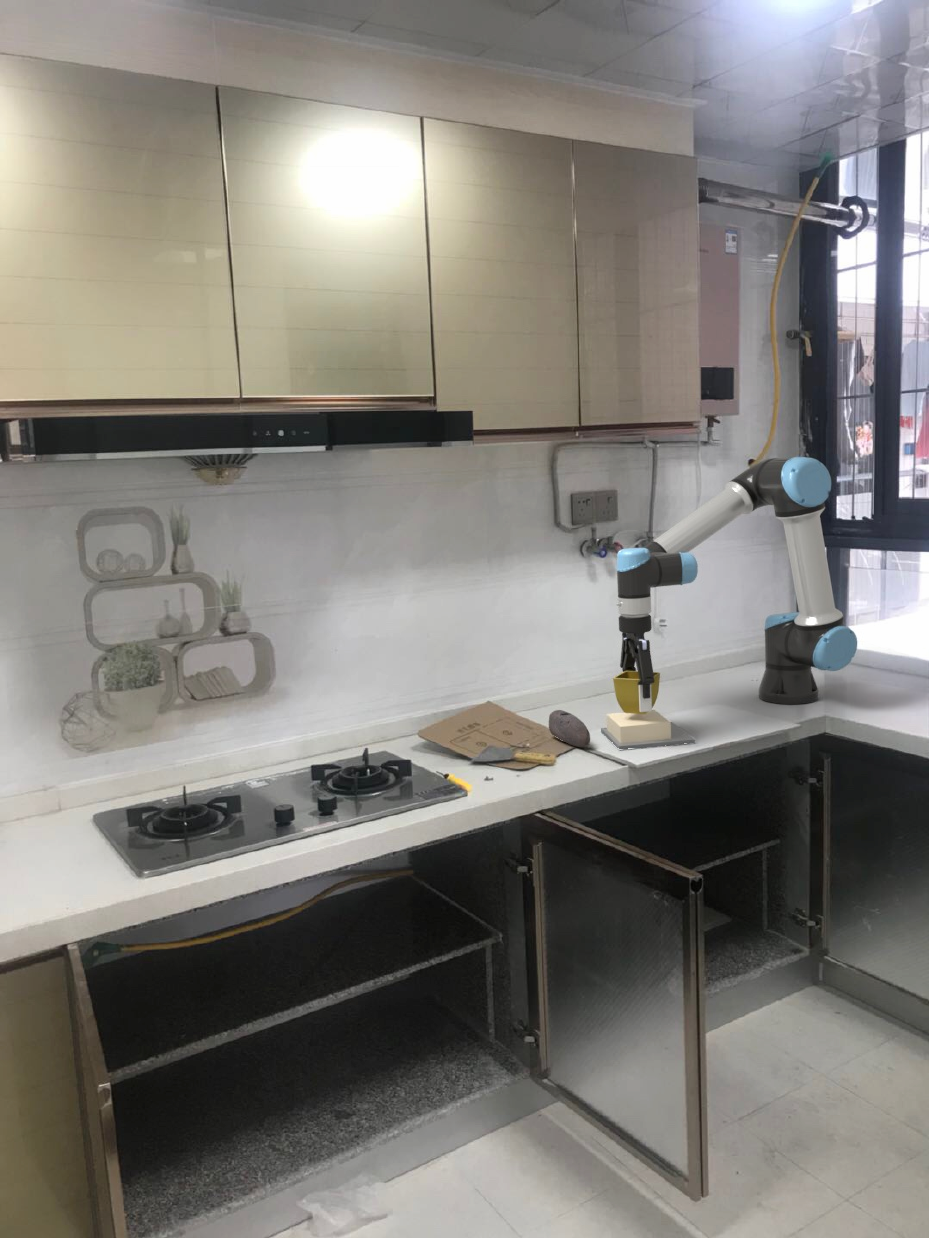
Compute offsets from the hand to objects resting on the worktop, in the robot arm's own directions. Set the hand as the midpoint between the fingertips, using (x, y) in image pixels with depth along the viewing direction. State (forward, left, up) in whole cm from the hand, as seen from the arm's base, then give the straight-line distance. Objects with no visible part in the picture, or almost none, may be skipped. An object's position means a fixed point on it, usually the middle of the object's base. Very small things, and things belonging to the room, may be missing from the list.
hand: (637, 704), depth 225 cm
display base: (-2, 0, -8) cm, 8 cm away
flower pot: (0, 0, -2) cm, 2 cm away
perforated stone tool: (+16, -1, -9) cm, 18 cm away
